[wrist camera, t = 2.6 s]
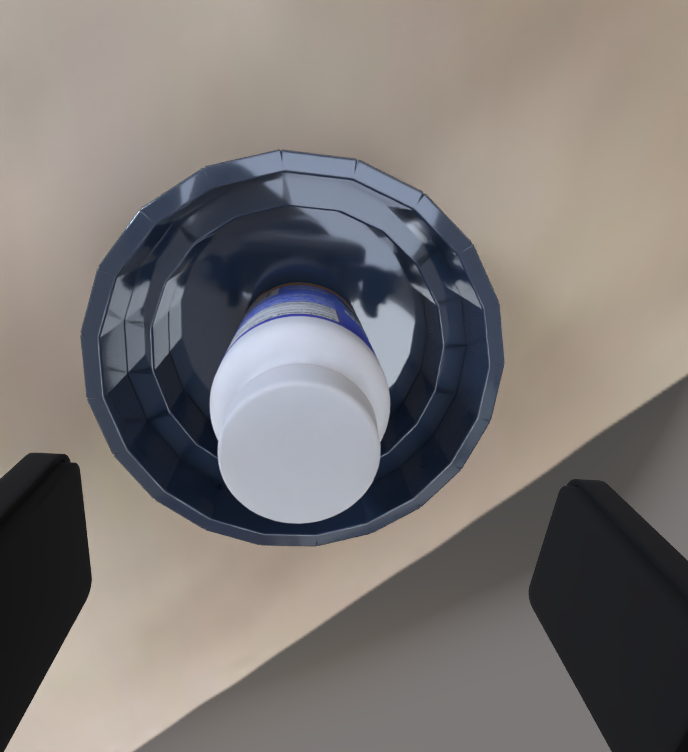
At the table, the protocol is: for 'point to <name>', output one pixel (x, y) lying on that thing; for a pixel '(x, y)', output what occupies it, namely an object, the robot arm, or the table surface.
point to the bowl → (258, 275)
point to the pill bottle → (299, 406)
